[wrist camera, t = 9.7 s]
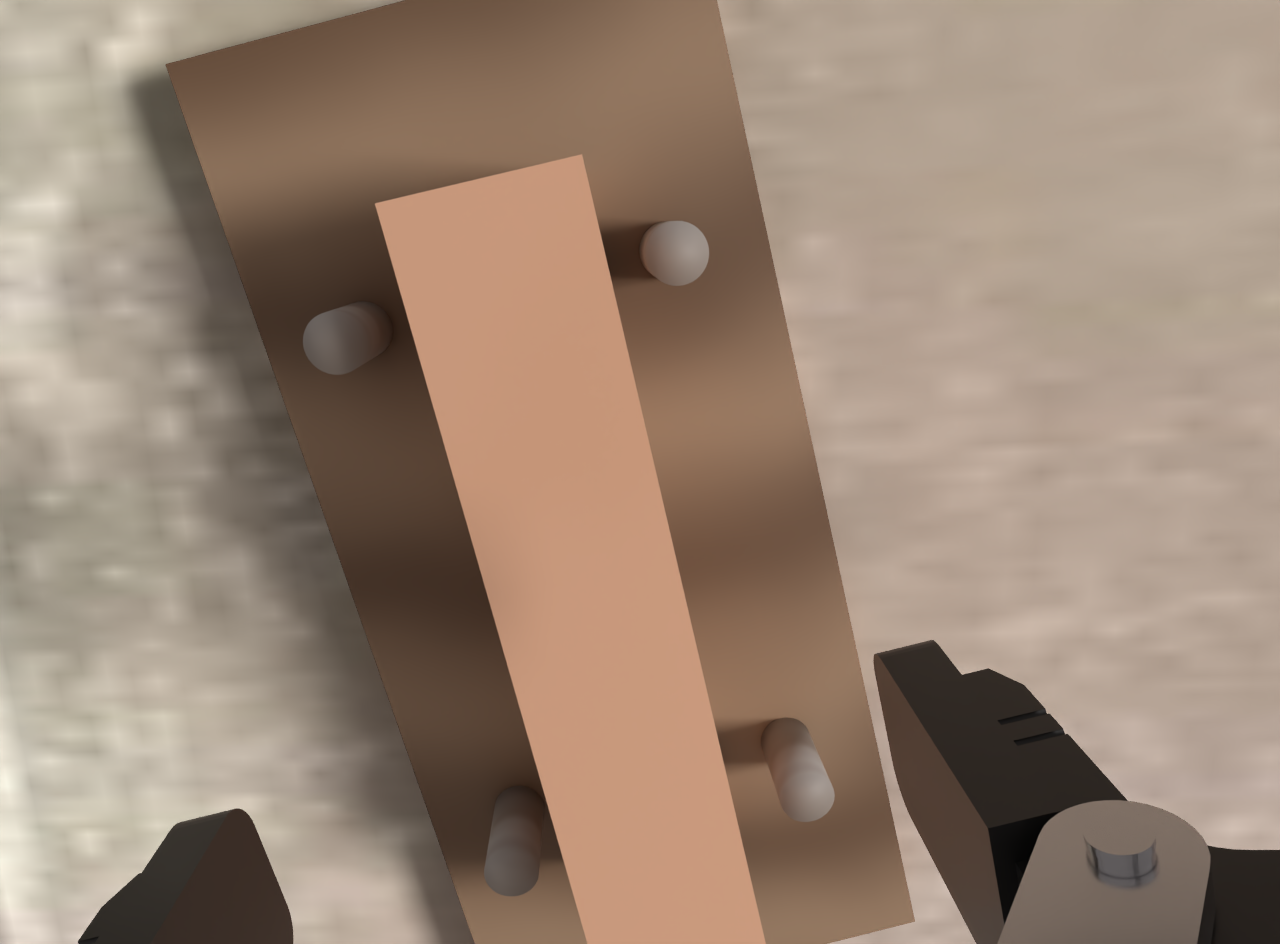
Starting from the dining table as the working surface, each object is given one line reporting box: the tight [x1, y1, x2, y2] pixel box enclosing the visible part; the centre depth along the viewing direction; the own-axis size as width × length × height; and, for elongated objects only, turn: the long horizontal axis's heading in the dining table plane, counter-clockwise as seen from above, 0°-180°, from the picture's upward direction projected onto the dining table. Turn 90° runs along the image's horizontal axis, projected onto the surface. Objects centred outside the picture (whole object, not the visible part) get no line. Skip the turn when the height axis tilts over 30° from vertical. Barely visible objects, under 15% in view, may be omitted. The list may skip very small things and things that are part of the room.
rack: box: [166, 0, 915, 944], centre depth 22 cm, size 24×11×4 cm, turn 14°
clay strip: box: [375, 154, 766, 944], centre depth 20 cm, size 16×4×4 cm, turn 13°
